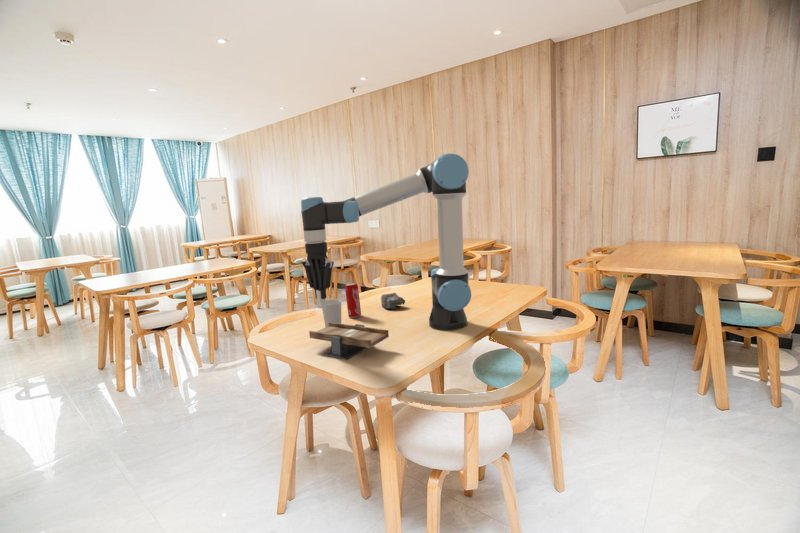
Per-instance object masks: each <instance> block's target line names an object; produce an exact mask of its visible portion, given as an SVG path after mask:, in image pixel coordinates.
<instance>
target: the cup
mask: <svg viewBox="0 0 800 533" xmlns="http://www.w3.org/2000/svg"><path fill="white" fill-rule="evenodd" d="M325 300H326V307H324V308H321V309H322V314H323V315H322V316H323V320H324V328H325V327H328V326H329V322H333V323H340V324H342V300H341V299H334V298H333V299H328V300H327V299H325Z"/></svg>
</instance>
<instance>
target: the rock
mask: <svg viewBox="0 0 800 533" xmlns="http://www.w3.org/2000/svg"><path fill="white" fill-rule="evenodd" d="M380 300H381V307H382V308H383V309H384V310H390V309H392V310H394V309H395V310H396V309H397V307H398V306H401V305H405V304H406V300H405V299H404V298H403V297H401V296H399V295H398V294H397V293H396V292H392V293H385V294H382V295H381V298H380Z"/></svg>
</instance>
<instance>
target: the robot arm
mask: <svg viewBox="0 0 800 533" xmlns="http://www.w3.org/2000/svg"><path fill="white" fill-rule="evenodd" d="M469 171H470V170H469V166H468V163H467V161H466V159H464V158H463V157H462V156H461V155H459V154H456V153H450V152H449V153H446V154H445V153H443V154H442V155H440V156H438V157H436V159H435V160H434V161H432V162H431V163H429V164H428V165H426V166H424V167H421V168H419V169H418V170H417V172H416V173H413V174H409V175H408V176H405V177H403V178H400V179H398V180H395V181H392V182H390V183H386V184H384V185H382V186H379V187H377V188H373V189H371V190H368V191H366V192H364V193H361V194H359V195H355V196H353V197H351V198H347V199H345V200H341V201H328V202H326V201H324V199H323V197H321V196H313V197H303V198H302V199H301V201H300V204H301V205H300V206H301V211H300V213H301V219H302V226H303V227H302V228H303V238H304V242H305V244H304V249H305V254H306V255H307V256H306V260H305V261H302V262H301V264H302V266H303V268H304V270H305V273H306V274H305V275H306V278H307V281H308V284H309V287H310V289H313V290H314V293H315V299H316V303H317V308H318V309H320V310H321V309H322V308H324V307H326V300H327V289H329V288H330V287H331V282H332V272H333V267H334V264H335V263H334V261H330V260H329V257H328V255H327V253H328V243H327V242H326V241H327V233H326V225H332V224H333V225H334V224H335V225H336V224H353V223H357V222H359V221H360V217H361V216H364V215H367V214H369V213H372V212H375V211H377V210H380V209H383V208H385V207H388V206H391V205H394V204H396V203H398V202H401V201H403V200H407V199H409V198H412V197H415V196H417V195H420V194H423V193H425V194H431V193H432V197H433V198H435V199H436V206H437V208H436V209H437V231H438V232H437V235H438V236H437V237H438V239H437V240H438V260H439V262H438V263H439V267H436V268H434V269H432V270H431V271H430V278H431V300H432V302H431V303H432V306H431V311H430V314H429V317H428V324H429V327H431V328H432V329H435V330H439V331H453V330H454V331H455V330H460V329H463V328H465V327H467V326H468V318H467V315H466V313H465V310H464V309H465V308H466V307H467V306H468V305H469V303H470V302H471V299H472V290H471V289H472V288H471V287H470V285H469V271H468V269H467V268H466V267H465V264H464V263H465V262H464V260H465V259H464V226H463V224H464V223H463V198H464V197H465V196H466V194H467V180H468V176H469Z"/></svg>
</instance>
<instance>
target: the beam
mask: <svg viewBox="0 0 800 533" xmlns="http://www.w3.org/2000/svg"><path fill="white" fill-rule="evenodd" d="M355 325H356V324H354V325H353V324H345V323H341V324H340V323H333V322H329V326H328V327H325V326H324V327H323V328H321V329H319V330H317V331H314V330H309V331H308V332H309V333H308V334H309V338H310V339H315V340H320V341H326V342H331V336H338V337H341V339H342V343H343V344H349V345H354V346H360V347H366V349H371V348H373V347H374V346H376V345H378V344H379V343H381V342H383V341H384V340H386V339H387V338H389V336H390V335H389V329H382V328H375V327H369V326H368V327H367V326H365V327H362V326H355Z"/></svg>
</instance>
